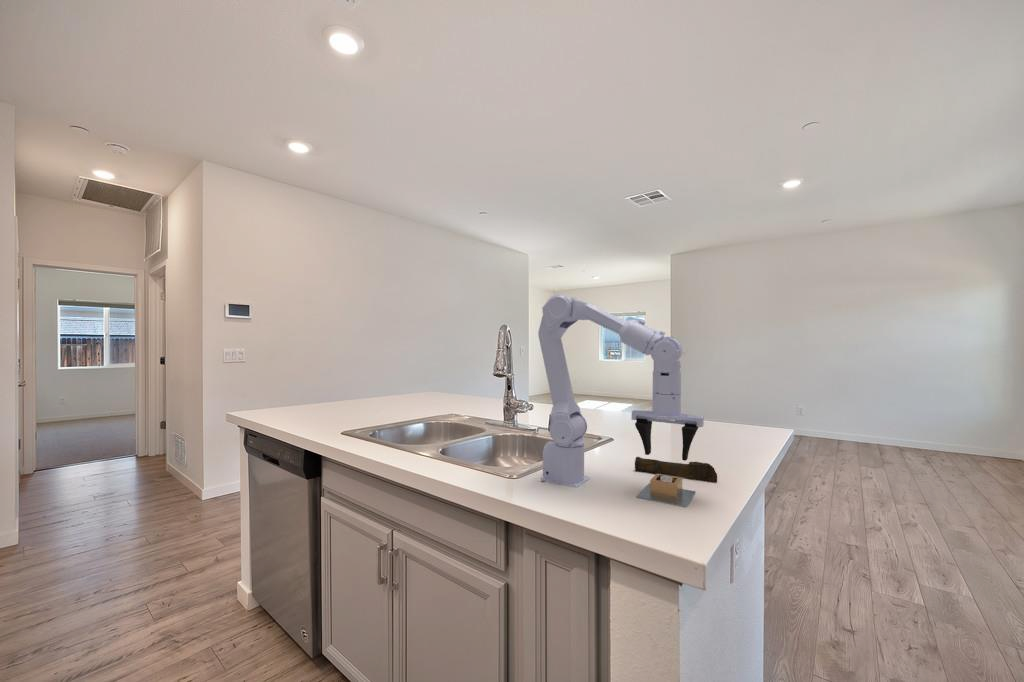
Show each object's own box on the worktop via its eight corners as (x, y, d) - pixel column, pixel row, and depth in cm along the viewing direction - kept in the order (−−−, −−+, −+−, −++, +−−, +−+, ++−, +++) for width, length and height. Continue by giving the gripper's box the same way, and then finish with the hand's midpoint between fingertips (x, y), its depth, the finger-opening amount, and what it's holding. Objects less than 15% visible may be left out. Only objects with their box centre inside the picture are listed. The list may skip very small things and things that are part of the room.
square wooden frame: (650, 495, 92) (650, 480, 92) (656, 487, 96) (656, 473, 96) (676, 500, 89) (676, 484, 89) (682, 492, 93) (682, 477, 93)
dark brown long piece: (633, 473, 109) (633, 455, 109) (638, 469, 112) (638, 451, 112) (715, 488, 99) (715, 468, 99) (717, 483, 102) (717, 463, 102)
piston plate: (636, 499, 91) (636, 479, 91) (649, 485, 99) (649, 467, 99) (686, 509, 85) (686, 488, 85) (695, 494, 94) (695, 475, 94)
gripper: (627, 392, 93) (626, 455, 93) (699, 397, 85) (699, 466, 85) (636, 389, 99) (636, 448, 99) (705, 394, 91) (705, 458, 91)
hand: (666, 456), depth 92 cm, fingers open, 7 cm apart
